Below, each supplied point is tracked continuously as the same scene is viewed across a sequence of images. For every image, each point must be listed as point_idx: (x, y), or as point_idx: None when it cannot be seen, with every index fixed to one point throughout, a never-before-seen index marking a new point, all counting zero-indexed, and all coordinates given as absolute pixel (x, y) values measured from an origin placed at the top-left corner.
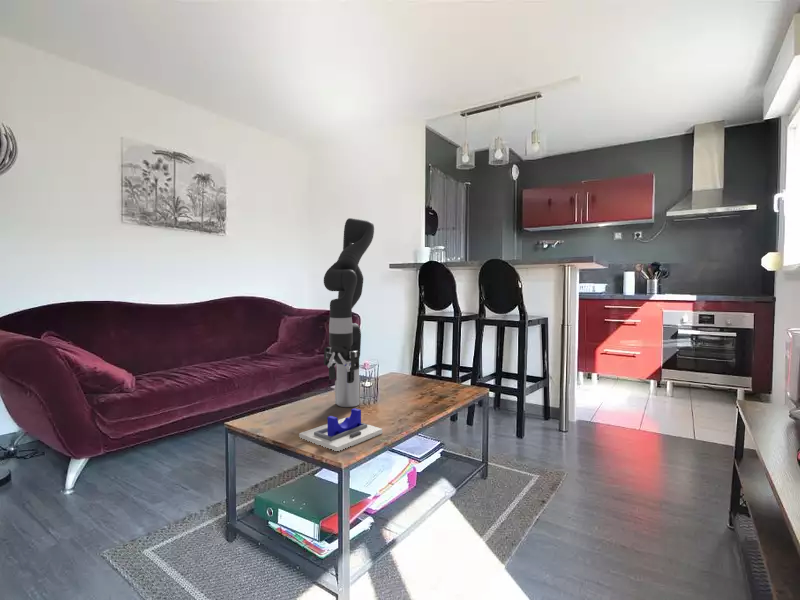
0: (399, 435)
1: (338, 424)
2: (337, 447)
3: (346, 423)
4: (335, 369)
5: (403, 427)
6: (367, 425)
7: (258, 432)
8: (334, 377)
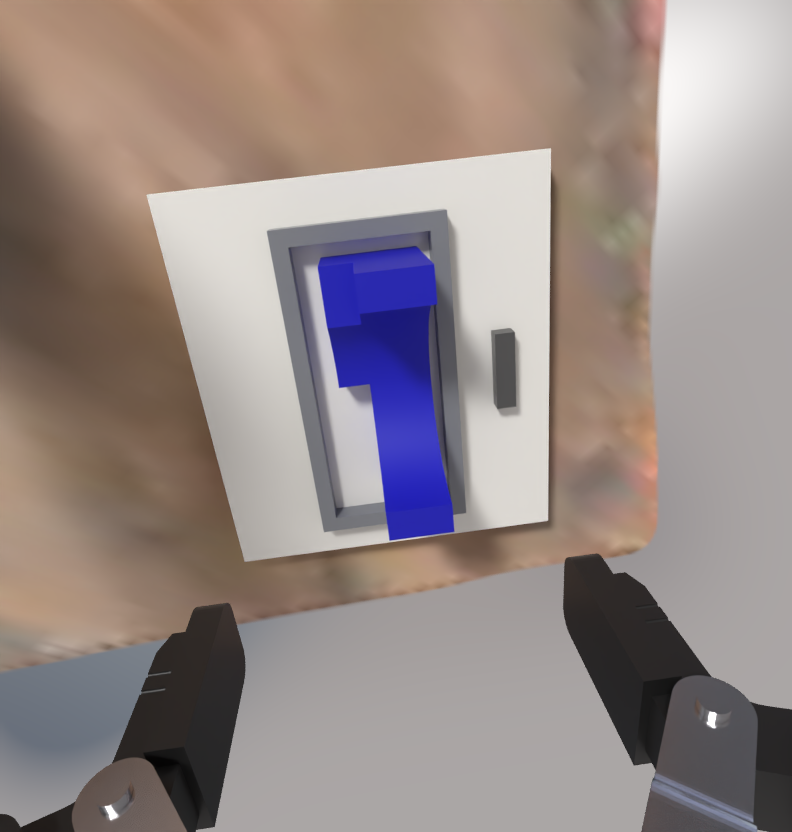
0: (658, 84)
1: (442, 470)
2: (547, 518)
3: (372, 349)
4: (195, 712)
5: None
6: (417, 181)
7: (36, 645)
8: (228, 623)
